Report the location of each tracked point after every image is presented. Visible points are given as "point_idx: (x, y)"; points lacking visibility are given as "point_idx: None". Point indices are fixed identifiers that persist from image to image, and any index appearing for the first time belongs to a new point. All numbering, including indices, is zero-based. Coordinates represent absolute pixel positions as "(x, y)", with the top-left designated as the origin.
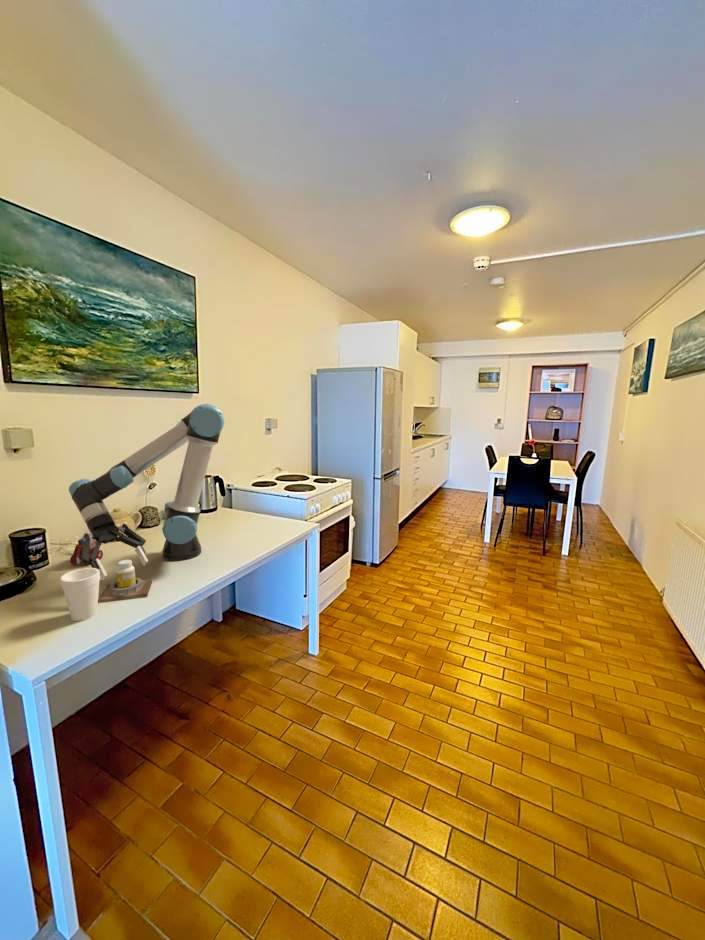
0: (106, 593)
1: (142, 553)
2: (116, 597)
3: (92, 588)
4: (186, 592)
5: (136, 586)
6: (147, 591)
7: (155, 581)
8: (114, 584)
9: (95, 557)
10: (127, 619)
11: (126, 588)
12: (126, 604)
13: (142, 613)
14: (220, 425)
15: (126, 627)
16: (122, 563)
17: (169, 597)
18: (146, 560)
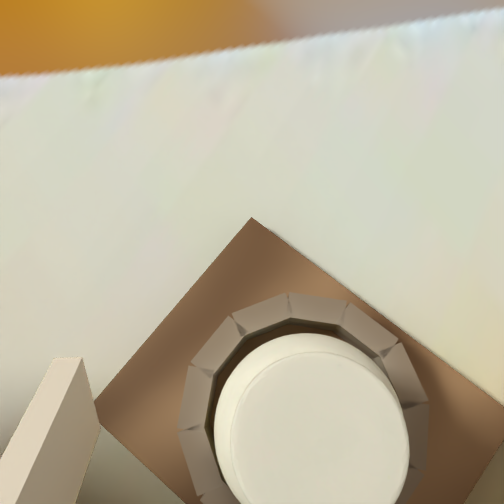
0: (434, 470)
1: (21, 464)
2: (410, 337)
3: None
4: (84, 85)
5: (276, 296)
6: (230, 245)
7: None
8: None
9: None
10: (458, 72)
11: (347, 317)
12: (387, 232)
13: (376, 67)
14: None
15: (493, 11)
16: (374, 401)
17: (180, 108)
18: (67, 368)
